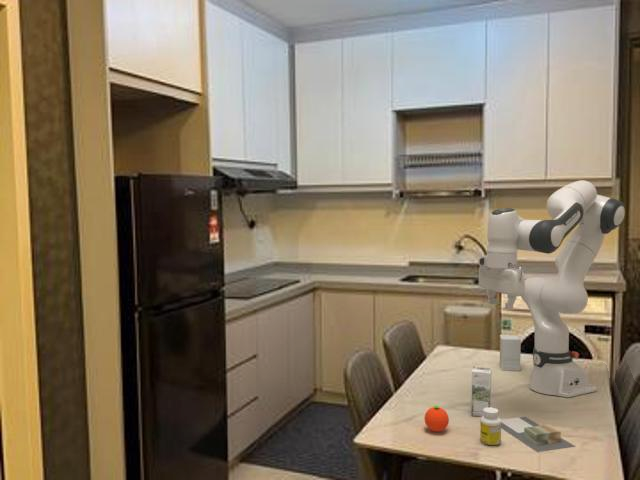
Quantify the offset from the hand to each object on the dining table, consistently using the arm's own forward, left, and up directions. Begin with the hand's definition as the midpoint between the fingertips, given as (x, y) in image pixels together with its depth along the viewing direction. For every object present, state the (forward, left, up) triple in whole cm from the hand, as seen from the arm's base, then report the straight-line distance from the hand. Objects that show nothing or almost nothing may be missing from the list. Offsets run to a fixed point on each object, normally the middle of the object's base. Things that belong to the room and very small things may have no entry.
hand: (500, 306), depth 176 cm
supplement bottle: (+14, +18, -34) cm, 41 cm away
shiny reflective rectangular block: (0, +21, -33) cm, 39 cm away
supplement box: (-32, -42, -34) cm, 63 cm away
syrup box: (+5, -2, -34) cm, 35 cm away
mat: (0, +16, -34) cm, 38 cm away
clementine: (+24, +5, -34) cm, 42 cm away
